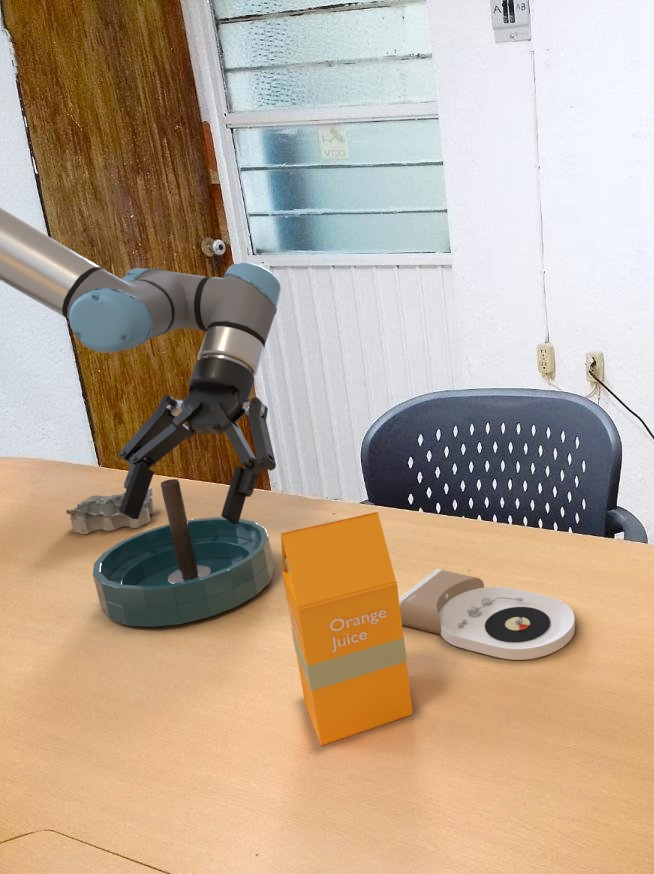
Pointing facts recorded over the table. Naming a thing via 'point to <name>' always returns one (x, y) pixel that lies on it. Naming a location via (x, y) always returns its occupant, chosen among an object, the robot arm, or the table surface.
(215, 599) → the bowl
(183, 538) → the brown rod
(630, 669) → the table surface
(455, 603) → the record player
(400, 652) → the orange juice
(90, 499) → the egg carton
